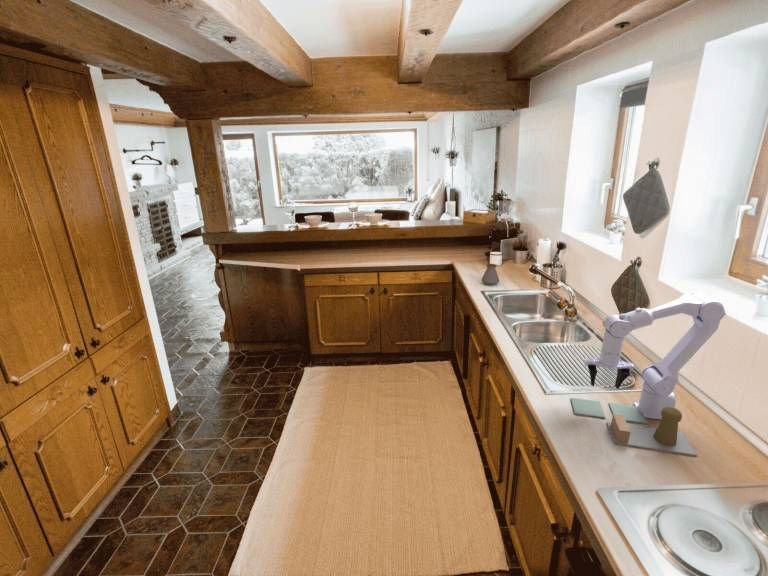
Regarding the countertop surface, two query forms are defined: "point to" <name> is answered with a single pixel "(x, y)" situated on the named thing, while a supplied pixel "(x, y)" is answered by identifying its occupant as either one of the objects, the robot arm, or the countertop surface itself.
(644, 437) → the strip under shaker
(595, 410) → the pair of green tiles
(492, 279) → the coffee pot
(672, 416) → the olive rounded upright post
